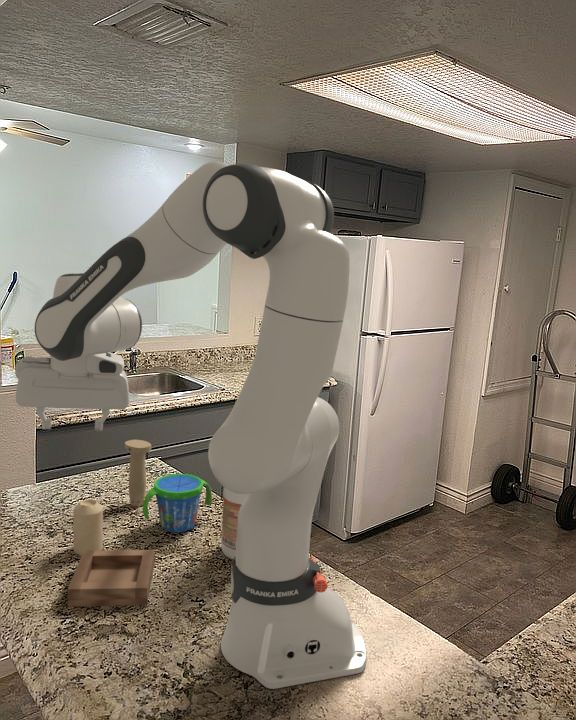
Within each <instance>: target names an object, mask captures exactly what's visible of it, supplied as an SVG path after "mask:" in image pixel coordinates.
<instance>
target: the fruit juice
mask: <svg viewBox="0 0 576 720" xmlns="http://www.w3.org/2000/svg"><path fill="white" fill-rule="evenodd" d="M247 495H248V494H236V493H233V492H231V491H229V490H227V489H226V488H225V487H223V495H222V498H223V499H222V518H221V520H222V521H221V542H220V546H221V551H222V553H223V555H224V556H225V557H227V558H229V559H231V560H234V557H235V556H236V542H237V521H238V513H239V510H240V507H241V505H242V503H243V501H244V500H245V498H246V497H247Z"/></svg>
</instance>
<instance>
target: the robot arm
mask: <svg viewBox="0 0 576 720" xmlns="http://www.w3.org/2000/svg"><path fill="white" fill-rule="evenodd" d="M334 220H335V211H334V205H333V203H332V199H330V197H329V195H328V194H327V193H326V191H325V190H323V189H322V188H321V187H320V186H318V185H317V184H315V183H314V182H312V181H310V180H307V179H302V178H299V177H297V176H295V175H292V174H290V173H288V172H287V171H284V170H280V169H276V168H271V167H264V166H259V165H256V164H253V163H234V164H228V163H226V162H223V161H218V160H217V161H209V162H207V163H204V164H202V165H201V166H200V167H198V169H196V170H194V172H192V173H191V174H190V175H189V176H188V177H187V178H185V180H184V181H182V183H180V184H179V185H178V186H177V187H176V189H174V190H173V192H172V193H171V194H170V195H169V196H168V197H167V199H166V200H165V201H164V202H163V203H162V205H161V206H160V207H159V208H158V209H157V211H155V213H154V214H152V215H151V216H150V217H149V218H148V219H147V220H146V221H145V222H144V223H142V224H141V225H140V226H139V227H138V228H136V229H135V230H134V231H132V233H130V234H128V235H127V236H126V237H124V238H122V239H120V240H118V242H116V243H115V244H113V245H112V246H110V247H109V248H108V250H106V251H105V252H104V253H103V254H102V255H101V256H99V258H98V259H97V260H96V261H94V262H93V264H92V265H91V266H90V267H88V268H87V270H86V271H85V272H79V273H65V274H62V275H60V276H59V277H57V279H56V281H55V285H54V289H53V293H52V294H53V295H52V298H50V299H48V301H46V302H45V303H44V304H43V306H42V307H41V308H40V310H39V312H38V313H37V316H36V319H35V321H34V335H35V338H36V340H37V341H36V342H37V343H38V344H39V345H40V347H41V348H42V349H43V350H44V351H45V352H46V353H47V354H48V355H50V357H48V356H47V357H46V356H45V357H43V356H42V357H41V356H40V357H36V356H35V357H32V356H24V357H23V358H21V359H19V360H17V362H16V363H15V366H14V367H15V370H14V374H15V377H16V379H18V381H17V383H16V384H17V385H16V389H15V403H16V404H17V405H18V406H19V407H21V408H22V407H23V408H26V407H28V408H35V413H36V414H37V416H38V418H39V420H40V421H41V429H42V430H52V417H47V415H46V413H45V411H46V408H51V409H52V408H53V409H54V408H56V409H57V408H59V409H83V410H85V409H87V410H89V409H90V410H101V414H102V415H101V417H100V418H99V419H95V420H94V421H95V422H94V431H96V432H97V431H99V432H101V431H103V430H104V429H103V428H104V423H105V422H106V419H108V417H109V416H110V410H116V411H117V410H118V411H119V410H120V411H121V410H122V411H124V410H126V409H127V408H128V407H129V404H130V392H129V391H130V387H129V381H128V380H129V379H128V376H127V373H126V372H125V370H124V368H125V360H124V357H122V356H121V355H119V354H116V353H113V352H121V351H122V352H123V351H125V350H126V351H127V350H128V349H132V348H133V347H135V346H136V344H137V343H138V341H139V340H140V338H141V336H142V330H143V321H142V315H141V313H140V310H139V309H138V307H137V306H136V304H134V303H133V301H131V300H129V299H128V298H127V299H126V298H123V297H122V296H123V295H124V294H126V293H128V292H129V291H132V290H134V289H137V288H140V287H143V286H147V285H151V284H156V283H161V282H167V281H172V280H180V279H184V278H188V277H191V276H192V275H194V274H195V273H197V272H199V271H200V270H201V269H203V268H204V267H206V266H207V265H209V263H210V262H212V261H213V259H215V257H216V256H217V255H218V254H219V253H220V252H221V251H222V250H223V248H224V247H225V246H226V245H227V244H228V245H230V246H232V247H234V248H235V249H237V250H238V251H239V252H241V253H243V254H244V255H246V256H247V257H248V258H250V259H251V260H255V259H256V260H257V259H259V258H262V257H263V258H264V260H265V262H266V264H267V266H268V268H269V269H268V270H269V280H268V281H269V282H268V287H267V292H266V293H267V294H266V298H265V302H264V307H263V308H264V309H263V313H262V319H261V325H260V329H259V334H258V340H257V345H256V349H255V354H254V358H253V360H252V364H251V365H250V369H249V371H248V374H247V377H246V379H245V382H244V383H243V386H242V388H241V390H240V392H239V394H238V396H237V398H236V401H235V403H234V405H233V407H232V409H231V411H230V413H229V415H228V416H227V417H226V419H225V420H224V421H223V423H222V424H221V426H220V427H219V428H218V429H217V430H216V432H215V433H214V434H213V435H212V437H211V439H210V442H209V445H208V455H207V456H208V462H209V467H210V469H211V471H212V474H213V475H214V478H215V479H216V480H217V481H218V483H219V484H220V485H221V486H222V487H223V488H224V487H225V488H226V489H227V490H229V491H231V492H233V493H236V494H248V495H247V497H246V498H245V500H244V501H243V503H242V505H241V507H240V510H239V513H238V521H237V542H236V556H235V557H234V559H232V567H231V569H230V570H231V571H230V594H231V595H230V596H231V604H230V610H229V615H228V619H227V623H226V627H225V630H224V631H223V632H224V633H223V635H222V637H221V641H220V649H221V653H222V655H223V657H224V659H225V660H226V661H227V662H228V663H229V664H230V665H231V666H232V667H234V668H235V669H236V670H238V671H240V672H242V673H244V674H247V675H249V676H252V677H253V678H255V679H256V681H258V682H259V683H260V684H261V685H262V686H263V687H265V688H267V689H271V690H276V689H281V688H287V687H292V686H297V685H303V684H307V683H312V682H313V683H314V682H318V681H323V680H330V679H334V678H340V677H345V676H351V675H355V674H361V673H362V672H364V669H365V668H366V664H367V646H366V643H365V640H364V637H363V634H362V632H361V630H360V628H359V626H357V624H356V622H354V621H353V620H352V618H351V614H350V611H349V609H348V607H347V605H346V603H345V600H343V598H342V596H341V595H339V594H338V593H337V592H336V591H335V590H333V589H331V588H330V587H329V583H328V581H327V578H326V576H325V575H324V574H322V572H321V567H320V565H319V564H318V563H317V561H316V559H315V558H314V556H313V555H310V545H311V544H310V543H311V534H312V533H311V532H312V521H313V516H314V511H315V506H316V503H317V500H318V495H319V492H320V488H321V485H322V481H323V479H324V475H325V471H326V468H327V463H328V461H329V456H330V454H331V452H332V450H333V448H334V446H335V444H336V442H337V440H338V438H339V434H340V420H339V417H338V415H337V413H336V411H335V409H334V408H333V406H332V405H331V404H330V403H328V401H326V400H325V399H323V398H321V397H319V395H320V393H321V391H322V390H323V388H324V386H325V385H326V383H327V382H328V380H329V379H330V378H331V375H332V373H333V371H334V365H335V361H336V358H337V357H336V356H337V351H338V348H339V343H340V337H341V333H342V328H343V323H344V320H345V319H344V318H345V312H346V309H347V303H348V302H347V301H348V295H349V287H350V286H349V283H350V260H351V259H350V258H351V257H350V252H349V250H348V247H347V245H346V244H345V243H344V242H343V241H342V240H341V239H340V238H338V237H337V236H336V235H334V234H332V233H331V231H332V229H333V226H334ZM309 556H311V558H309Z"/></svg>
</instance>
